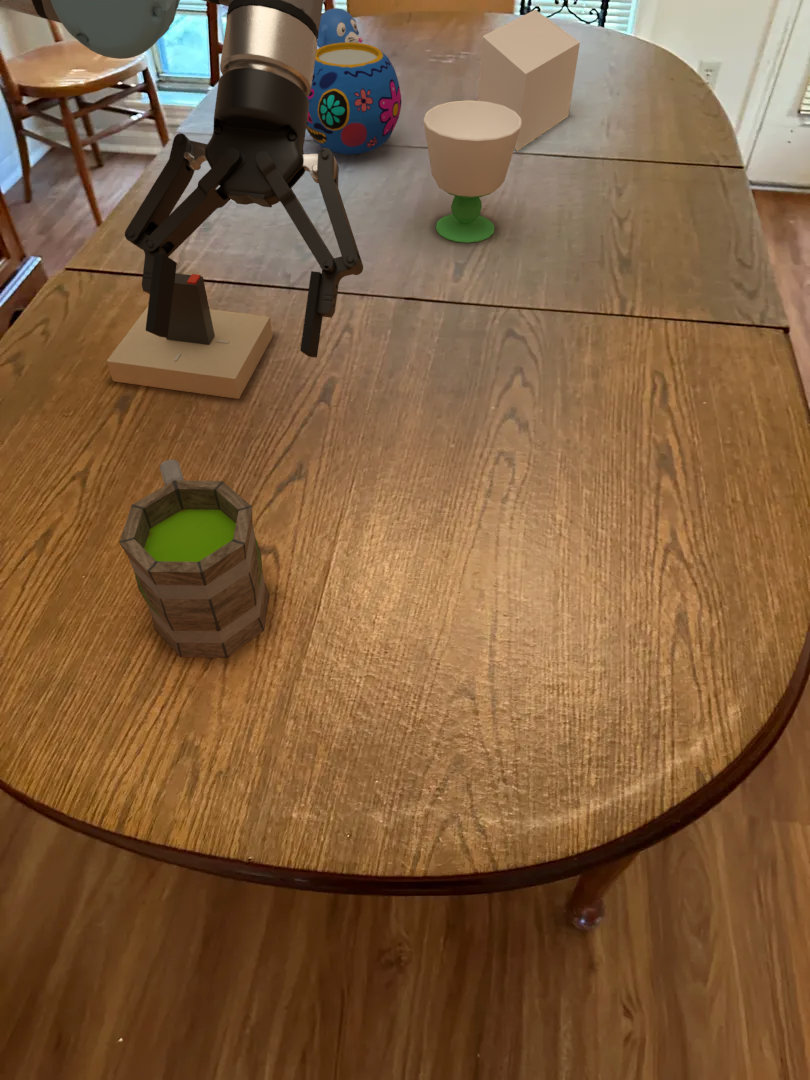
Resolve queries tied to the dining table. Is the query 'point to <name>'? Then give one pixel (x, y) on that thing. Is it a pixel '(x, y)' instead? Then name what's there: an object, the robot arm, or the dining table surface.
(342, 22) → the blue mole toy
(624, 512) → the dining table surface
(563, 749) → the dining table surface
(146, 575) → the mug
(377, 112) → the ceramic pot
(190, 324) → the dark brown upright block
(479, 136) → the cup
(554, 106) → the block
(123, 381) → the tan rectangular slab
